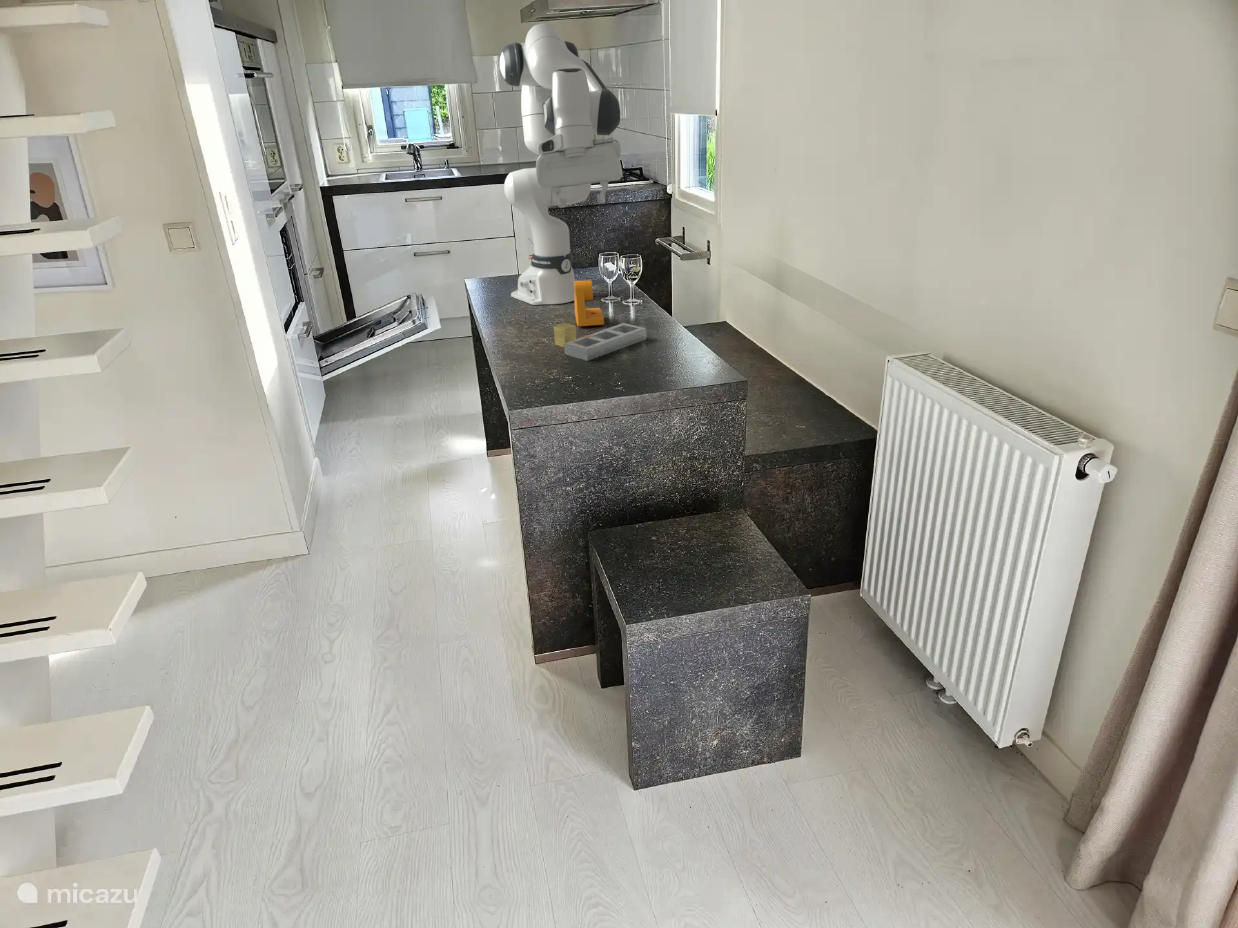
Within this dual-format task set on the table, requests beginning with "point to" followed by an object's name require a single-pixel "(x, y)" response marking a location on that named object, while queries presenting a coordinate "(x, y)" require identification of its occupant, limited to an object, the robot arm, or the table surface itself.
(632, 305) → the table surface
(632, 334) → the grey rectangular frame
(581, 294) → the bracket
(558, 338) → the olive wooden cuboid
